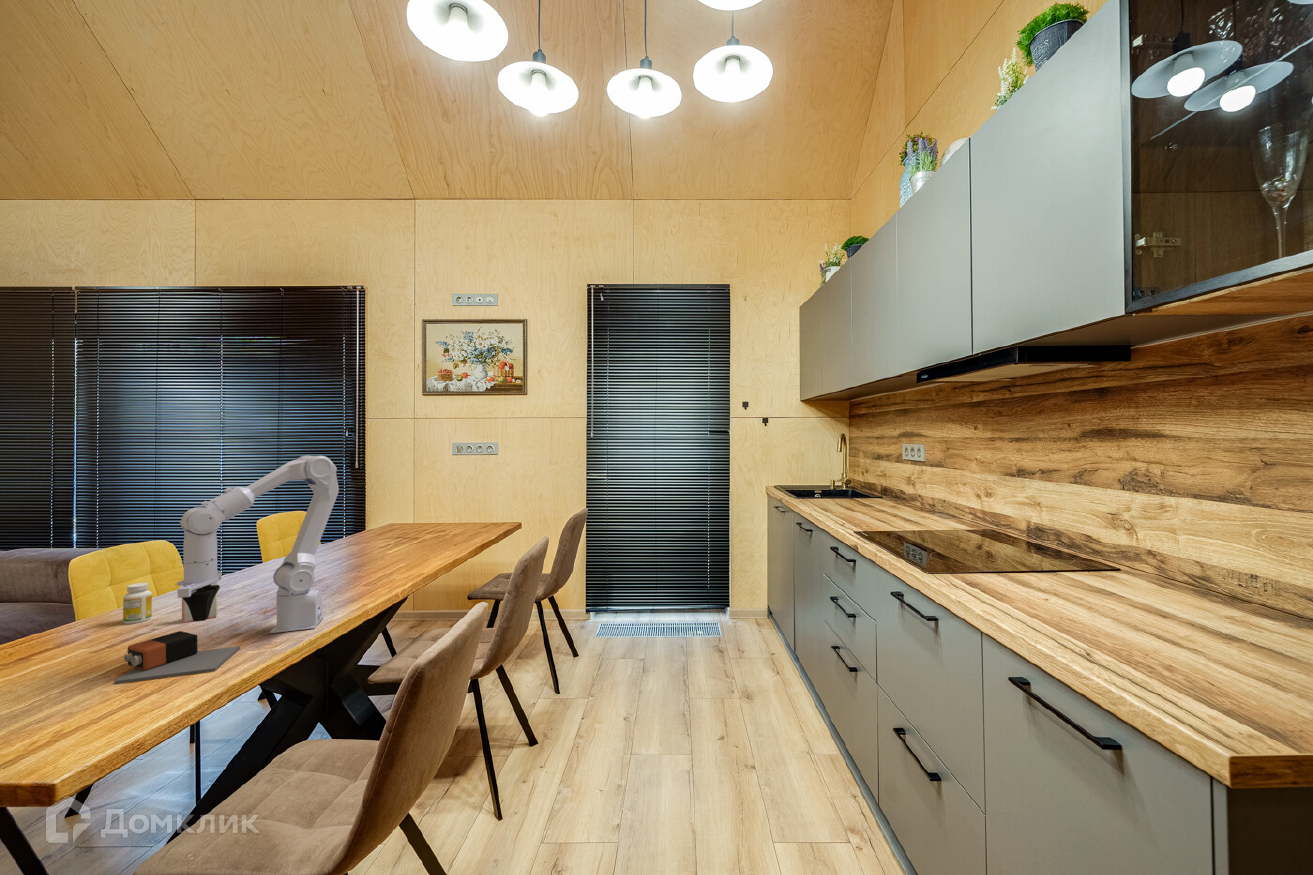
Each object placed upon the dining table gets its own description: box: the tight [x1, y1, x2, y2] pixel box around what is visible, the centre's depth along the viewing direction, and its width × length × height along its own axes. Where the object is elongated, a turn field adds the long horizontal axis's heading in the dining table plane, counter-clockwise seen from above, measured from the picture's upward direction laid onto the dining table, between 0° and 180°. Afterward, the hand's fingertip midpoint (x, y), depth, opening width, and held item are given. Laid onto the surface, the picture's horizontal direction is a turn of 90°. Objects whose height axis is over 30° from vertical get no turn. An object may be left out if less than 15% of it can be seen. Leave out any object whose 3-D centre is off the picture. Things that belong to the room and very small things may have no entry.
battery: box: [123, 630, 198, 670], centre depth 108 cm, size 4×7×10 cm
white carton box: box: [181, 582, 218, 624], centre depth 136 cm, size 4×7×10 cm, turn 127°
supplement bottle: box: [122, 582, 153, 625], centre depth 134 cm, size 5×5×10 cm
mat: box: [113, 645, 241, 685], centre depth 107 cm, size 16×12×1 cm
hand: (200, 620), depth 115 cm, fingers closed
